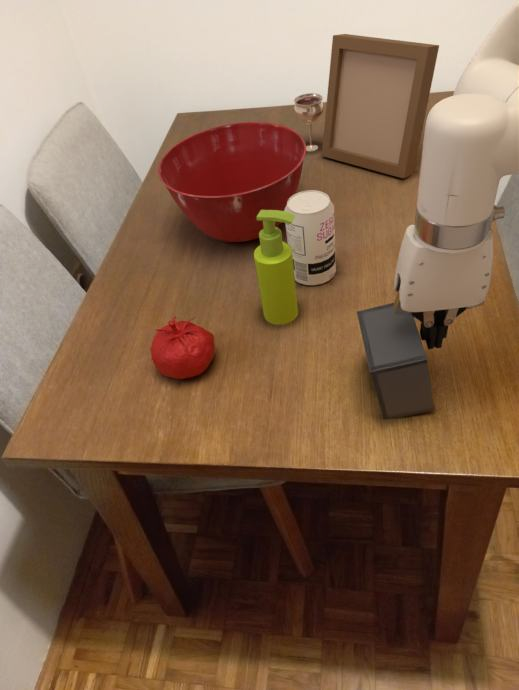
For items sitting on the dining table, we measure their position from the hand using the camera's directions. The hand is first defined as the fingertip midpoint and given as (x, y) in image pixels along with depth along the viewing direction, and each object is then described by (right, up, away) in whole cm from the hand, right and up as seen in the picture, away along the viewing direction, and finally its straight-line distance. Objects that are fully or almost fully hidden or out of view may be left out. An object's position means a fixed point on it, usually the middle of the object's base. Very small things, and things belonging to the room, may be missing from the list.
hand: (431, 340), depth 69 cm
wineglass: (-10, +47, +60) cm, 77 cm away
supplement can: (-13, +12, +27) cm, 32 cm away
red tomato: (-34, -4, +16) cm, 38 cm away
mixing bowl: (-26, +25, +41) cm, 55 cm away
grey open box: (-2, -6, +7) cm, 9 cm away
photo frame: (+5, +43, +54) cm, 69 cm away
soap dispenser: (-18, +4, +21) cm, 28 cm away
